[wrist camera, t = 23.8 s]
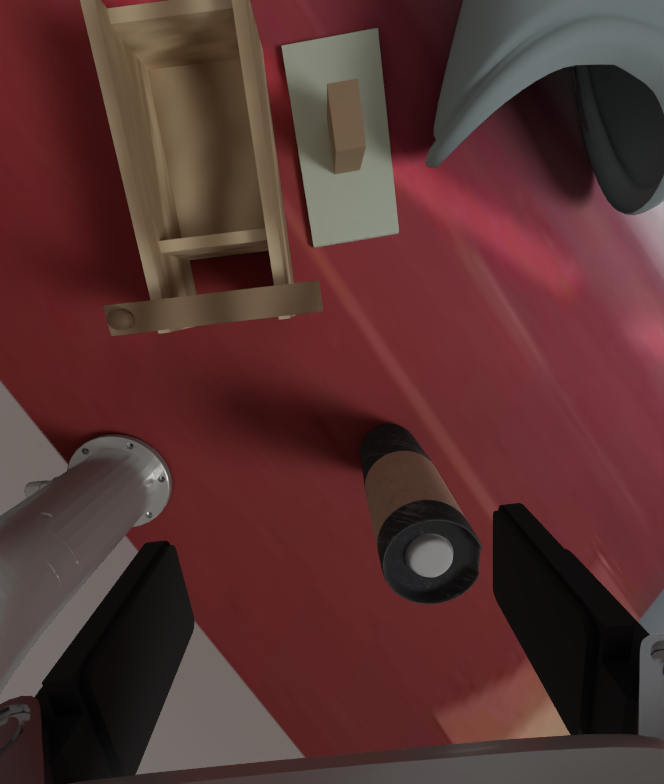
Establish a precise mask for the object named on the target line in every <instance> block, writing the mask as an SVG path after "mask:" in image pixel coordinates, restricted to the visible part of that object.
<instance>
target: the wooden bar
mask: <svg viewBox="0 0 664 784" xmlns="http://www.w3.org/2000/svg"><path fill="white" fill-rule="evenodd" d="M103 307H104V310H105V314H106V318H107V322H108V325H109V329H110V333H111V336H116V335H125V334H133V333H142V332H150V331H159V330H167V329H176V328H185V327H193V326H202V325H210V324H219V323H227V322H236V321H244V320H253V319H262V318H270V317H279V316H287V315H296V314H304V313H313V312H322V311H323V308H322V299H321V291H320V282H319V280H318V281H309V282H301V283H293V284H284V285H276V286H267V287H259V288H250V289H242V290H233V291H225V292H216V293H208V294H200V295H191V296H183V297H174V298H166V299H157V300H149V301H140V302H132V303H123V304H115V305H107V306H103Z"/></svg>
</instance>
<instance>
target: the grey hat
mask: <svg viewBox="0 0 664 784" xmlns="http://www.w3.org/2000/svg"><path fill="white" fill-rule="evenodd" d="M570 66H573V75H574V83H575V90H576V80H575V72H574V66H576V71H577V77H578V82H579V87H580V92H581V97H582V102H583V107H584V112H585V117H586V122H587V128H588V133H589V135H588V133H587V131H586V129H585V127H584V125H583V124H582V121H581V115H580V110H579V105H578V110H579V117H580V123H581V127H582V132H583V137H584V141H585V145H586V148H587V152H588V156H589V159H590V162H591V165H592V168H593V171H594V173H595V176H596V178H597V181H598V183H599V185H600V187H601V189H602V192H603V193H604V195H605V197H606V198H607V200H608V201H609V203H610V204H611V205H612V206H613V207H614V208H615V209H616V210H618V211H620V212H622V213H624V214H627V215H637V214H641V213H644V212H646V211H648V210H650V209H652V208H653V207H655V206H657V205H659V204H660V203H662V202H663V201H664V0H463V2H462V6H461V10H460V14H459V18H458V22H457V26H456V30H455V34H454V38H453V42H452V46H451V50H450V54H449V59H448V63H447V67H446V71H445V75H444V80H443V84H442V88H441V93H440V97H439V102H438V107H437V113H436V118H435V123H434V137H435V139H436V141H435V143H434V144H433V145H432V147H431V148H430V150H429V151H428V154H427V157H426V160H425V163H426V165H427V166H428V167H431V168H437V167H438V166H439V165H440V164H441V163H442V162H443V161H444V160H445V159H446V158H447V157H448V156H449V155H450V154H451V153H452V152H453V151H454V150H455V149H456V148H457V147H458V146H459V145H460V144H461V143H462V142H463V141H464V140H465V139H466V138H467V137H468V136H469V135H470V134H471V133H472V132H473V131H474V130H475V129H476V128H477V127H478V126H479V125H480V124H481V123H482V122H483V121H484V120H485V119H487V118H488V117H489V116H490V115H491V114H492V113H493V112H494V111H496V110H497V109H498V108H499V107H501V106H502V105H503V104H504V103H505V102H507V101H508V100H509V99H511V98H512V97H513V96H515V95H516V94H517V93H519V92H520V91H522V90H523V89H525V88H526V87H528V86H529V85H531V84H532V83H534V82H535V81H537V80H539V79H541V78H542V77H544V76H546V75H548V74H550V73H552V72H554V71H557V70H559V69H562V68H565V67H570ZM576 97H577V104H578V95H577V90H576Z"/></svg>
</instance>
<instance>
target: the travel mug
mask: <svg viewBox="0 0 664 784" xmlns="http://www.w3.org/2000/svg"><path fill="white" fill-rule="evenodd" d="M361 462H362V470H363V477H364V485H365V491H366V496H367V501H368V506H369V511H370V515H371V520H372V525H373V530H374V534H375V539H376V544H377V549H378V553H379V558H380V563H381V568H382V572H383V575H384V577H385V580H386V581H387V583H388V585H389V586H390V587H391V589H392V590H393V591H394V592H395V593H397V594H398V595H399V596H401V597H403V598H404V599H407V600H409V601H412V602H415V603H420V604H437V603H443V602H446V601H449V600H452V599H454V598H456V597H458V596H460V595H461V594H463V593H464V592H466V591H467V590H468V589H469V588H470V587H471V586H472V585H473V584H474V583H475V581H476V580H477V578H478V576H479V559H480V551H481V548H482V545H481V543H480V541H479V539H478V537H477V536H476V534H475V533H474V531H473V529H472V528H471V526H470V524H469V523H468V521H467V520H466V518H465V516H464V515H463V513H462V511H461V510H460V508H459V506H458V505H457V503H456V501H455V500H454V498H453V496H452V495H451V493H450V491H449V490H448V488H447V486H446V485H445V483H444V481H443V480H442V478H441V476H440V475H439V473H438V471H437V470H436V468H435V466H434V465H433V463H432V462H431V461H430V459H429V458H428V456H427V455H426V453H425V452H424V451H423V449H422V448H421V446H420V445H419V444H418V442H417V441H416V439H415V438H414V437H413V435H412V434H411V433H410V432H409V431H408V430H406V429H405V428H403V427H401V426H398V425H393V424H386V425H381V426H378V427H376V428H374V429H373V430H371V431H370V432H369V433H368V434H367V435H366V437H365V438H364V440H363V442H362V445H361Z"/></svg>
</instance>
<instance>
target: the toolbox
mask: <svg viewBox="0 0 664 784" xmlns="http://www.w3.org/2000/svg"><path fill="white" fill-rule="evenodd" d="M80 2H81V6H82V10H83V15H84V19H85V23H86V27H87V32H88V36H89V40H90V44H91V49H92V53H93V57H94V61H95V66H96V70H97V74H98V78H99V83H100V87H101V91H102V95H103V100H104V104H105V108H106V112H107V117H108V121H109V125H110V130H111V134H112V138H113V142H114V147H115V151H116V155H117V159H118V164H119V168H120V172H121V176H122V181H123V185H124V189H125V193H126V198H127V202H128V206H129V210H130V215H131V219H132V223H133V227H134V232H135V236H136V240H137V244H138V249H139V253H140V257H141V261H142V266H143V270H144V274H145V278H146V283H147V287H148V291H149V295H150V300H157V299H166V298H174V297H183V296H191V295H197V294H196V289H195V284H194V280H193V275H192V270H191V265H190V260H195V259H204V258H212V257H220V256H229V255H237V254H245V253H254V252H262V251H269V255H270V262H271V268H272V275H273V282H274V286H276V285H284V284H293V283H294V279H293V272H292V265H291V257H290V250H289V242H288V235H287V227H286V220H285V213H284V205H283V198H282V190H281V183H280V175H279V168H278V161H277V153H276V146H275V138H274V131H273V124H272V116H271V109H270V101H269V94H268V86H267V79H266V72H265V64H264V57H263V49H262V46H261V42H260V38H259V34H258V30H257V27H256V23H255V19H254V15H253V12H252V8H251V4H250V0H168V1H160V2H153V3H145V4H138V5H130V6H123V7H115V8H108V9H107V8H106V6H105V5H104V4H103V2H102V1H101V0H80ZM293 316H295V315H287V316H279V319H288V318H291V317H293ZM193 327H195V326H193ZM186 328H190V327H185V328H176V329H167V330H159V331H158V334H159V333H168V332H173V331H177V330H182V329H186Z"/></svg>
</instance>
